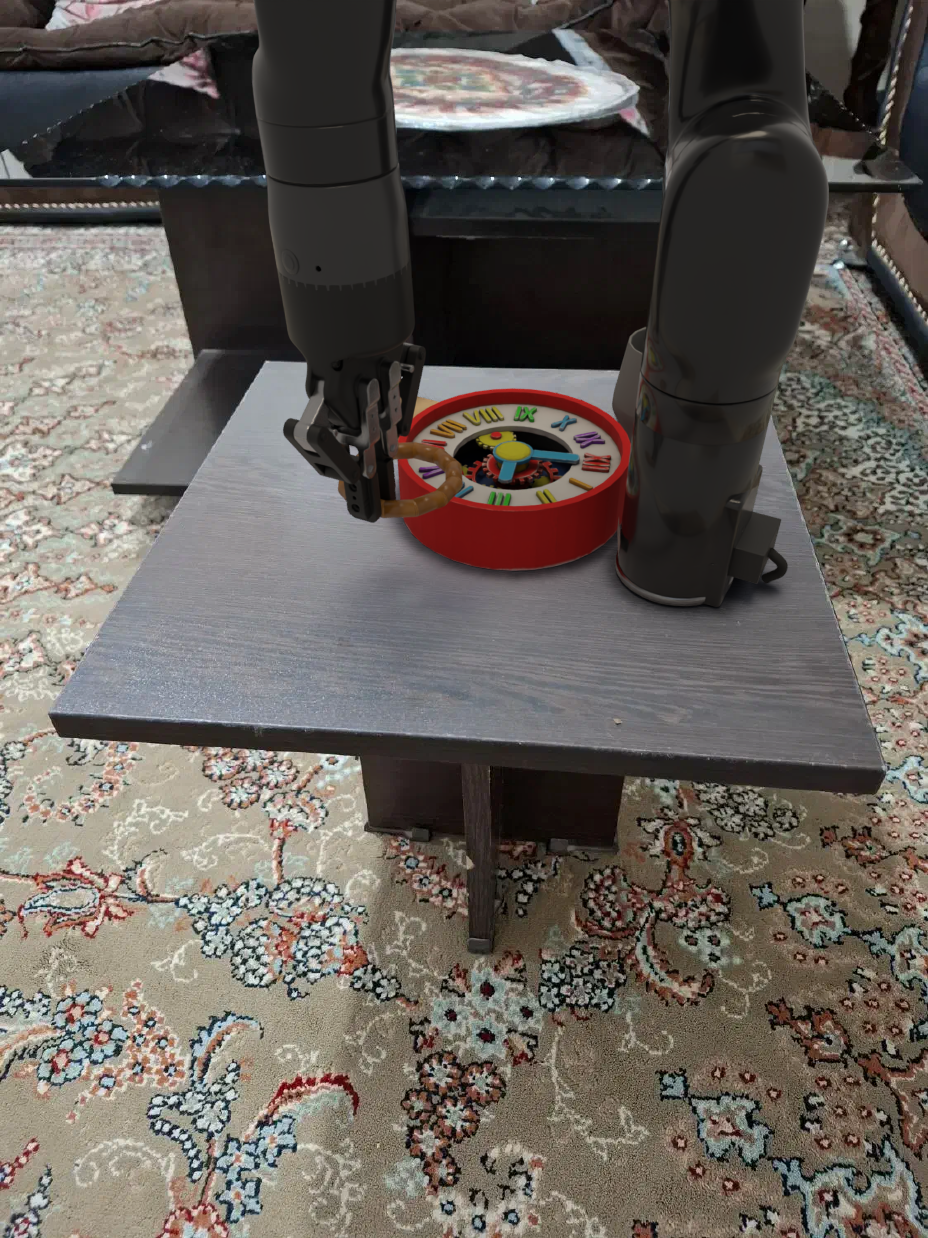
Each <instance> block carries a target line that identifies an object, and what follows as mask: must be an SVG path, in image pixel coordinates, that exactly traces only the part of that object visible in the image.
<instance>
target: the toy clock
mask: <svg viewBox="0 0 928 1238" xmlns="http://www.w3.org/2000/svg"><path fill="white" fill-rule="evenodd" d="M407 442H417V443H421V444H425V445H429V446H433V447H437V448H441V449H443V450H445V451H446V452H447V453H448V454H450V455H451V456H452V457H453V458H454V459H456V460H457V461H458V462H459V463H460V464H461V467H462V481H463V485H462V488H461V490H460V491H459V492H458V493H457V494H456V495H455V496H454V497H453V498H452V499H451V500H450V501H449V502H448V503H447V505H445V506H444V507H441V508H438V509H436V510H433V511H431V512H428V513H425V514H423V515H420V516H417V517H402V519H403V522H404V524H405V526H406V527H407V529H408V530H409V532H410V533H411V534H412V536H414V538H416V540H418V541H419V542H420V543H421V544H422V545H423V546H425V547H426V548H428V549H429V550H431V551H433V552H434V553H435V554H438V555H440V556H442V557H444V558H446V559H449V560H451V561H454V562H457V563H461V564H464V565H468V566H471V567H477V568H481V569H487V570H493V571H496V570H497V571H512V572H514V571H517V572H518V571H534V570H541V569H547V568H553V567H557V566H562V565H565V564H568V563H571V562H575V561H577V560H579V559H581V558H583V557H586V556H588V555H590V554H593V552H595V551H596V550H598V549H600V548H602V546H604V545H606V543H608V541H609V540H610V539H612V538H613V536H614V535H616V533H617V528H618V519H619V527H621V522H622V514H623V506H624V498H625V489H626V481H627V473H628V465H629V457H630V449H631V443H630V440H629V438H628V435H627V433H626V432H625V430H624V429H623V427H622V426H621V425H620V423H618V421H617V419H615V418H614V417H613V416H612V415H611V414H610V413H607V412H606V411H604V410H603V409H601V408H600V407H598V406H596V405H594V404H592V403H589V402H587V401H585V400H583V399H581V398H580V399H579V398H576V397H574V396H570V395H567V394H563V393H558V392H554V391H548V390H540V389H534V388H514V387H513V388H491V389H484V390H476V391H472V392H471V391H470V392H466V393H463V394H458V395H455V396H452V397H448V398H446V399H443V400H440V401H438V403H436V404H434V405H432V406H430V407H428V408H426V409H425V410H423V411H422V412H420V413H419V414H417V415H416V416H415V417H414V418H413V420H412V425H411V429H410V432H409V434H408V436H406V437H403V436H399V439H398V443H407ZM396 460H397V473H398V474H397V475H398V487H399V488H398V489H399V500H408V499H415V498H417V497H420V496H423V495H426V494H428V493H431V492H434V491H436V490H437V489H438V488H439V487H440V486H441V485H442V484H443V483H444V482H445V472H444V471H443V470H442V469H440V468H439V467H438V466H437V465H436V464H433V463H430V462H426V461H422V460H418V459H396Z"/></svg>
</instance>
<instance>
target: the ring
mask: <svg viewBox="0 0 928 1238" xmlns="http://www.w3.org/2000/svg"><path fill="white" fill-rule="evenodd" d="M398 445H399V446H398V452H397V454H396V456H395V457H393V461H395V460H397V459H418V460H422V461H426V462H430V463H433V464H436V465H437V466H438V467H439V468H440V469H442V470H443V471H444V472H445V482H444V483H443V484H442V485H441V486H440V487H439V488H438V489H437V490H436V491H434V492H431V493H428V494H426V495H423V496H420V497H417V498H415V499H408V500H400V499H396V500H382V499H381V508H382V516H381V517H380V519H381V518H382V519H399V518H401V519H403V517H417V516H420V515H423V514H425V513H428V512H431V511H433V510H436V509H438V508H441V507H444V506H445V505H447V503H448V502H449V501H450V500H451V499H452V498H453V497H454V496H455V495H456V494H457V493H458V492H459V491H460V490H461V488H462V485H463V481H462V467H461V464H460V463H459V462H458V461H457V460H456V459H454V458H453V457H452V456H451V455H450V454H448V453H447V452H446V451H445V450H443V449H441V448H437V447H433V446H429V445H425V444H421V443H417V442H407V443H398ZM355 456H359V455H358V453H357V454H355ZM337 483H338V484H337V493H338V494H339V495H340V496H341V497H342V498H343V499H344V501H346V496H345V489H344V482H343V481H340V480H338V482H337Z"/></svg>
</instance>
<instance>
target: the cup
mask: <svg viewBox="0 0 928 1238" xmlns="http://www.w3.org/2000/svg"><path fill="white" fill-rule="evenodd" d="M645 331H646V326H644V327H642V328H640V329H637V330H635V331H634V332H633V333H632V334H631V335H630V336H629V338H628V341H627V344H626V347H625V351H624V356H623V359H622V362H621V365H620V370H619V371H618V372H619V373H618V376H617V379H616V382H615V386H614V390H613V394H612V401H611V408H612V412H613V414H614V417H615V418H616V419H615V420H616V421H617V422H618V423H620V425H621V426H622V427H623V429H624V430H625V432H626V433H627V435H628V438H629V440H630V443H631V441H632V433H633V424H634V416H635V408H636V401H637V392H638V384H639V376H640V369H641V361H642V352H643V342H644V336H645Z"/></svg>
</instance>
